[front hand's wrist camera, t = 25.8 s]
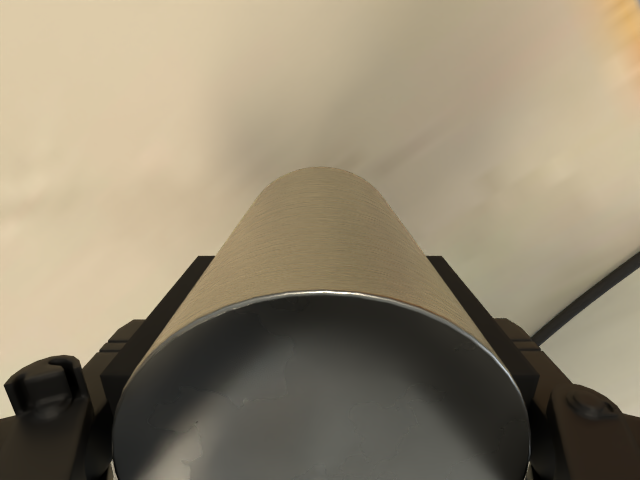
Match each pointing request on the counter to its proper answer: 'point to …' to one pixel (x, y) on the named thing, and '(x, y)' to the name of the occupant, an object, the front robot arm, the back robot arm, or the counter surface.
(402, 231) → the tin
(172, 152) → the counter surface
